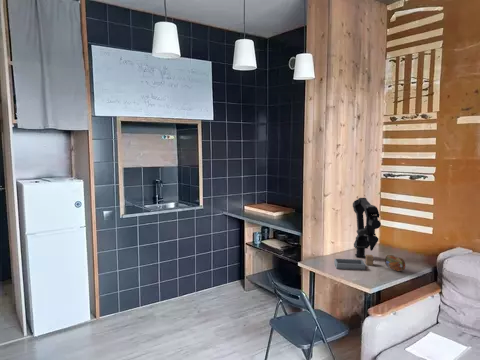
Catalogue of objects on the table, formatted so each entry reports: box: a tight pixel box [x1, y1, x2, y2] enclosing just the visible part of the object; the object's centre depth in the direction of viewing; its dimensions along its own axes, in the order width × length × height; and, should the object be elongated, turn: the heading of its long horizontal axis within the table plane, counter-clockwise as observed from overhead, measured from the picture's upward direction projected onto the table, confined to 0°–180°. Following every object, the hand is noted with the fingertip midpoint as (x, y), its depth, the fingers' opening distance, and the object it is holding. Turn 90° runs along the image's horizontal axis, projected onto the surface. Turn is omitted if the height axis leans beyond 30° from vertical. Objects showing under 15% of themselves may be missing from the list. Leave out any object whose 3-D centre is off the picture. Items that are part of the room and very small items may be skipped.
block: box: [364, 254, 374, 266], centre depth 245 cm, size 4×4×6 cm
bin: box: [333, 258, 366, 271], centre depth 239 cm, size 11×18×4 cm, turn 83°
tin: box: [384, 254, 406, 272], centre depth 235 cm, size 15×3×8 cm, turn 21°
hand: (369, 248), depth 244 cm, fingers open, 9 cm apart
